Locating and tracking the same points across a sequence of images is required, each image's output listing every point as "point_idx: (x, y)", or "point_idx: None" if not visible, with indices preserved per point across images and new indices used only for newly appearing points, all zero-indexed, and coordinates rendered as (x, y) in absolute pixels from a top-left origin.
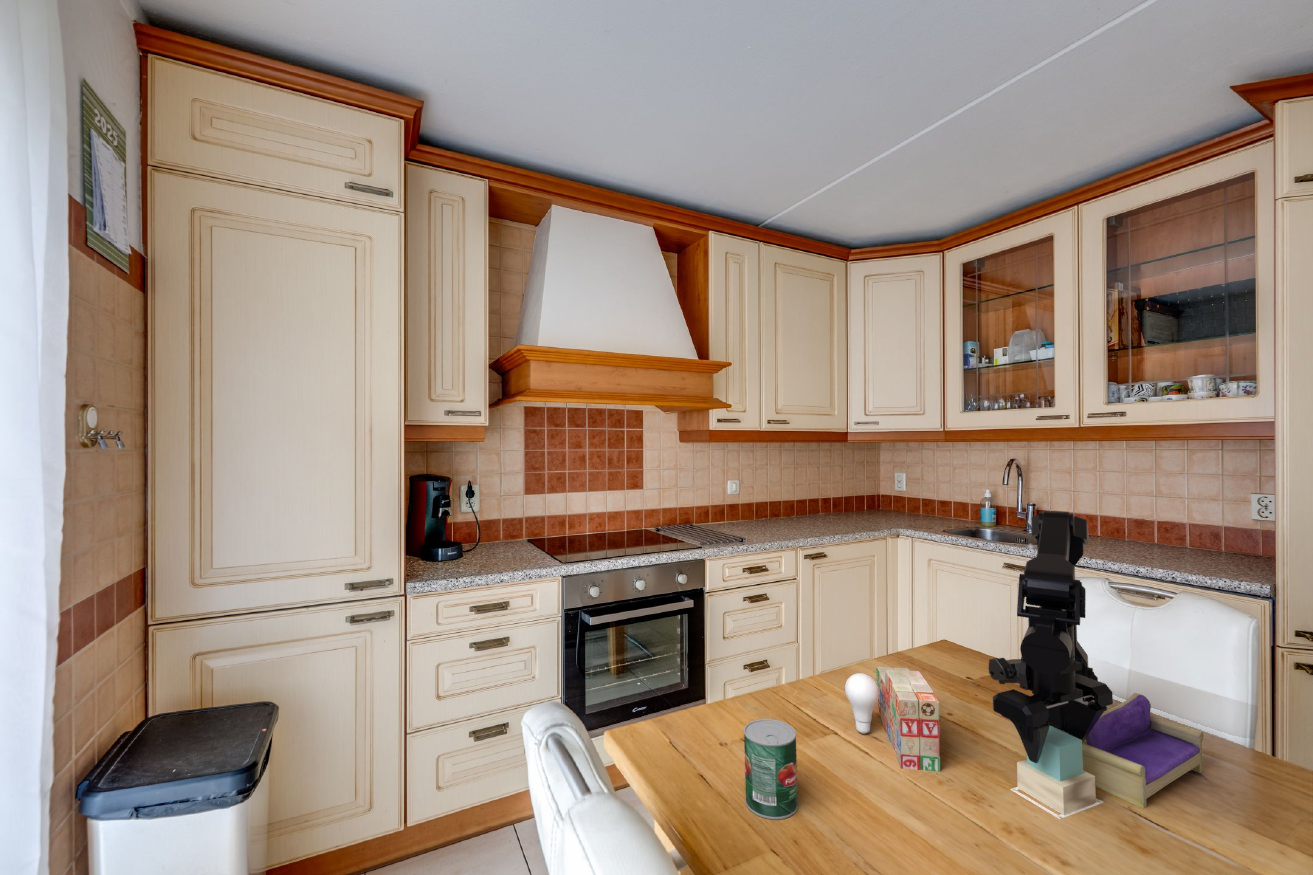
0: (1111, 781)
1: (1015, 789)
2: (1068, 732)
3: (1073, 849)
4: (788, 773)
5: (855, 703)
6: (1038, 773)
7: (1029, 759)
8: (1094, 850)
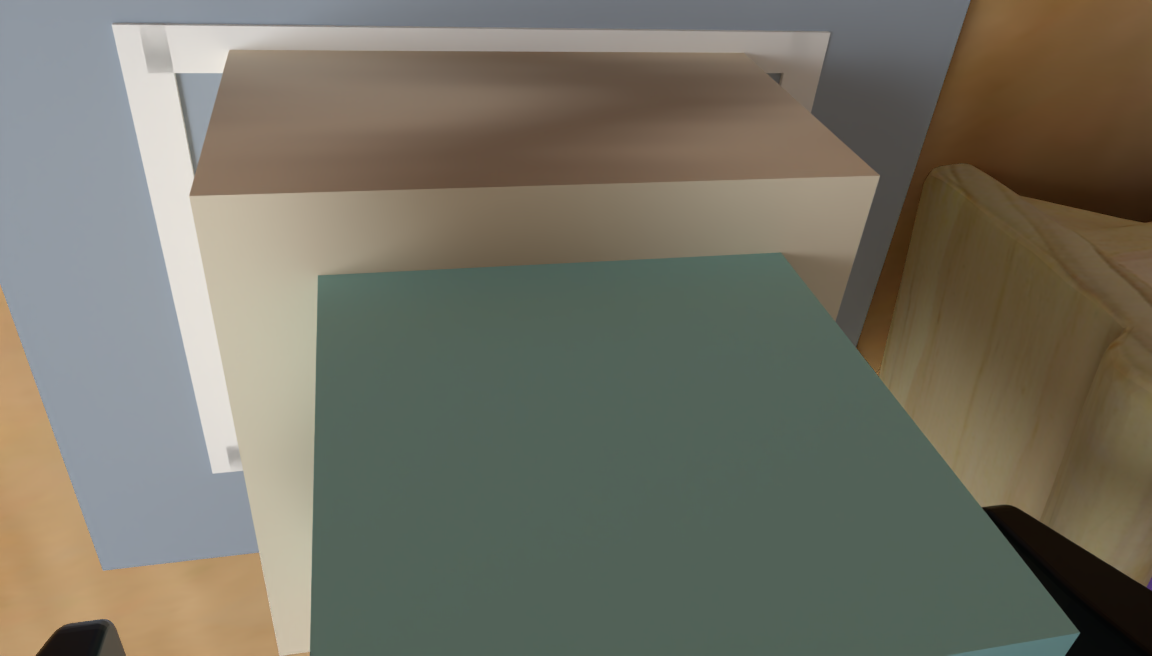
0: (948, 436)
1: (177, 57)
2: (1126, 642)
3: (45, 631)
4: None
5: None
6: (252, 460)
7: (58, 631)
8: (184, 650)
